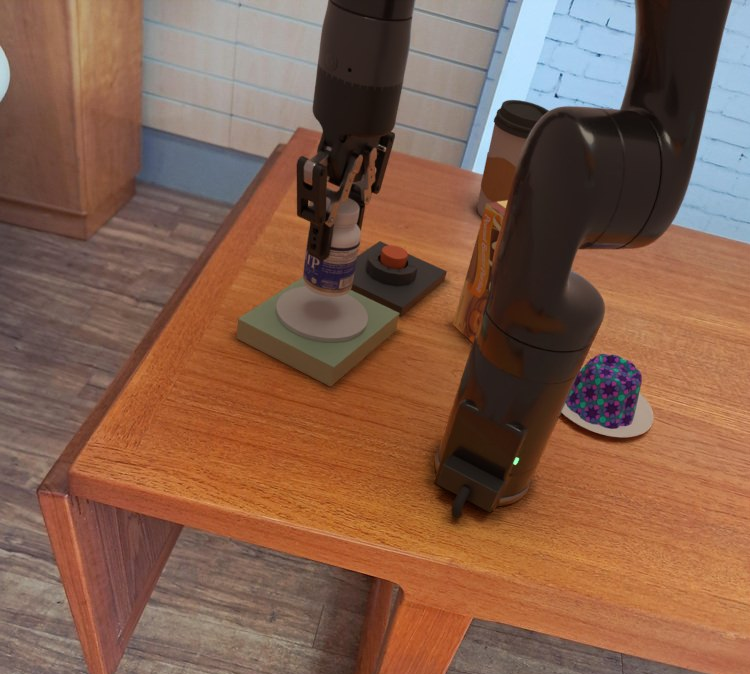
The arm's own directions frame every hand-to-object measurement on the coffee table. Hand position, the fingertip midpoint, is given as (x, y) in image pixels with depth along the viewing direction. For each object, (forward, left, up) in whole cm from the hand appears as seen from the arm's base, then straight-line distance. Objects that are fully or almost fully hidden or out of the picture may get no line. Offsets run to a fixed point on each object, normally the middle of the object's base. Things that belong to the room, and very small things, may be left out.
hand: (333, 245), depth 79 cm
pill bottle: (0, 0, -5) cm, 5 cm away
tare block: (+16, 0, -11) cm, 19 cm away
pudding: (+11, -30, -11) cm, 34 cm away
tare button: (+16, 0, -8) cm, 18 cm away
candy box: (+13, -15, -11) cm, 23 cm away
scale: (0, 0, -11) cm, 11 cm away
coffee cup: (+46, -2, -11) cm, 47 cm away
